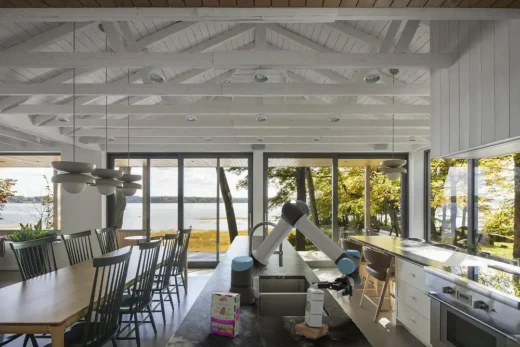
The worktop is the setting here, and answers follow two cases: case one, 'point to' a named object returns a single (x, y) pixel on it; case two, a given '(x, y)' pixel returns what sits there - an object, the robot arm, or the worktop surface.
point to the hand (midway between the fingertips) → (323, 291)
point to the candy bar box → (225, 313)
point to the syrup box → (314, 307)
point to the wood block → (311, 330)
